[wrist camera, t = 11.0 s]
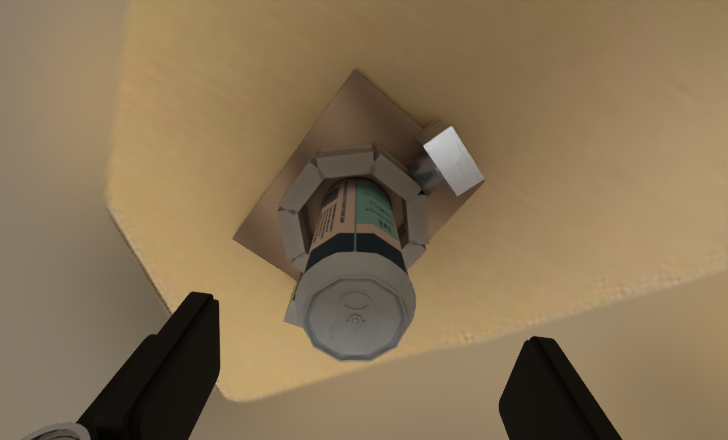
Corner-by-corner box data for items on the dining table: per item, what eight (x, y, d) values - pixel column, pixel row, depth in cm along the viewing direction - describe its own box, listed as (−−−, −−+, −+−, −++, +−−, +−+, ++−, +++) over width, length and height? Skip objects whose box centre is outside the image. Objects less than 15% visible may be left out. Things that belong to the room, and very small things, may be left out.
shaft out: (307, 256, 26) (299, 282, 22) (353, 273, 26) (352, 301, 23) (292, 291, 27) (283, 321, 23) (337, 307, 27) (334, 338, 24)
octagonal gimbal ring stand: (354, 69, 22) (353, 67, 18) (479, 176, 25) (501, 194, 21) (237, 231, 26) (216, 258, 22) (355, 308, 29) (354, 344, 25)
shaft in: (426, 192, 24) (436, 210, 21) (395, 149, 23) (401, 161, 19) (467, 164, 23) (484, 178, 20) (437, 118, 22) (451, 125, 19)
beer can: (322, 240, 25) (293, 371, 14) (320, 174, 23) (285, 264, 12) (390, 241, 25) (415, 371, 14) (393, 175, 23) (425, 265, 12)
